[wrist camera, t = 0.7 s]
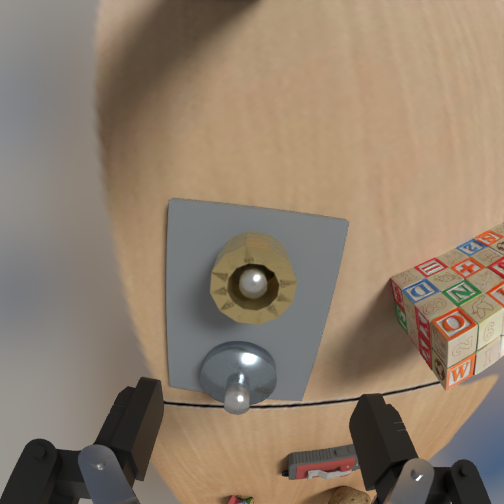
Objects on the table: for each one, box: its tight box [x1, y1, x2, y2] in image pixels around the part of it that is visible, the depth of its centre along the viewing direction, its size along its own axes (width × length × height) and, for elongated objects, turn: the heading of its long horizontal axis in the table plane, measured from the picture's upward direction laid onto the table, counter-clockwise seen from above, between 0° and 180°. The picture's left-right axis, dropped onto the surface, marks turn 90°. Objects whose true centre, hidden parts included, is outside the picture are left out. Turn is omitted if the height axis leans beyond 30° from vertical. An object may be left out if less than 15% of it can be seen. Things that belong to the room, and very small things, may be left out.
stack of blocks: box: [390, 223, 504, 391], centre depth 22 cm, size 21×6×12 cm, turn 112°
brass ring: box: [210, 231, 297, 325], centre depth 23 cm, size 6×6×4 cm
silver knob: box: [233, 263, 275, 298], centre depth 24 cm, size 5×5×6 cm
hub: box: [200, 341, 277, 415], centre depth 28 cm, size 8×8×6 cm
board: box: [166, 198, 349, 401], centre depth 29 cm, size 22×16×1 cm
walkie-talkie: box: [282, 444, 360, 480], centre depth 37 cm, size 9×4×20 cm
